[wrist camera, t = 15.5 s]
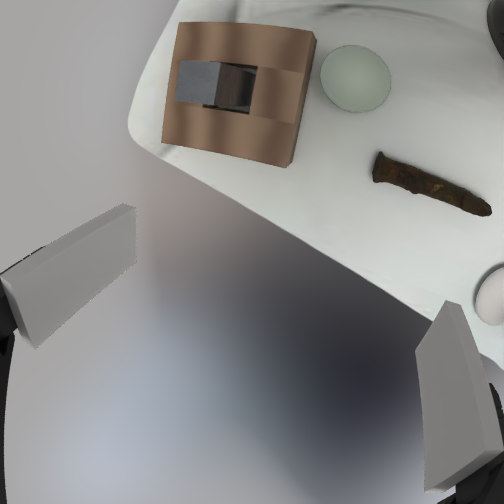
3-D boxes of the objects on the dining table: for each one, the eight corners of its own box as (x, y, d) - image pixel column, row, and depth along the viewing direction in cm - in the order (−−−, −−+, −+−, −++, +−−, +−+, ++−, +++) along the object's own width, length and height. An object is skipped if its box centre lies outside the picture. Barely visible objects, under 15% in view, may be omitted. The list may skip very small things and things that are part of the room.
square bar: (260, 76, 37) (220, 62, 25) (254, 106, 39) (213, 105, 27) (229, 72, 38) (180, 60, 26) (224, 101, 40) (174, 100, 28)
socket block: (316, 40, 33) (312, 31, 29) (291, 162, 42) (285, 168, 37) (195, 29, 36) (179, 22, 32) (178, 138, 45) (161, 142, 40)
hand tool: (369, 176, 39) (371, 184, 35) (377, 149, 37) (381, 154, 33) (478, 222, 36) (489, 234, 32) (488, 198, 34) (500, 208, 30)
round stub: (389, 66, 32) (396, 57, 26) (376, 120, 35) (382, 121, 29) (330, 49, 33) (327, 38, 27) (319, 103, 37) (313, 101, 31)
